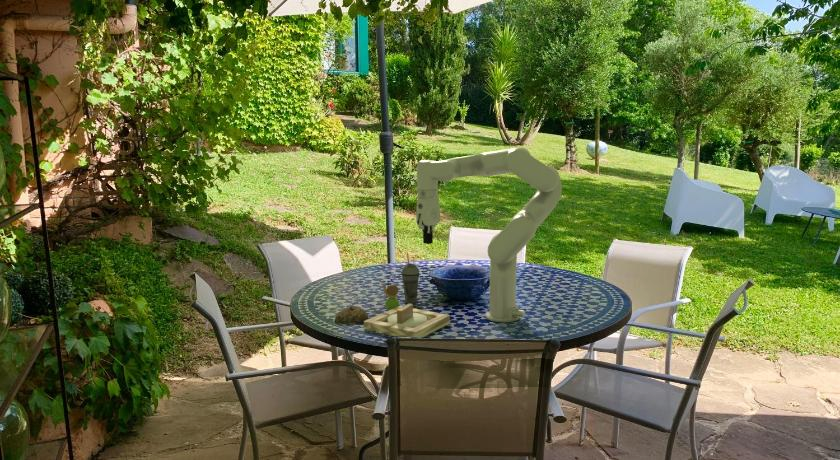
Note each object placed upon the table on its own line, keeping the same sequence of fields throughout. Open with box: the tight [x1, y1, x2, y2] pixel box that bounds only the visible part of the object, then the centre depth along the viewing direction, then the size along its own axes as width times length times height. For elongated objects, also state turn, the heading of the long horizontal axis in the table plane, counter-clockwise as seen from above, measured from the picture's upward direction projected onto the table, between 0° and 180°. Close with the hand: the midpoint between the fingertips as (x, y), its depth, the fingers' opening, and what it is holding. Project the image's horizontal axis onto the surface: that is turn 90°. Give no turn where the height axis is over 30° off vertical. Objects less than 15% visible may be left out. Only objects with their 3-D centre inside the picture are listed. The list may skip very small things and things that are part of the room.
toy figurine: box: [381, 280, 400, 311], centre depth 251 cm, size 5×6×12 cm
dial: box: [388, 303, 427, 328], centre depth 232 cm, size 14×14×6 cm
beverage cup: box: [401, 252, 421, 304], centre depth 263 cm, size 7×7×20 cm
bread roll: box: [334, 306, 369, 325], centre depth 242 cm, size 13×12×5 cm
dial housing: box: [363, 305, 451, 338], centre depth 233 cm, size 22×22×3 cm
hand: (428, 243), depth 243 cm, fingers closed
